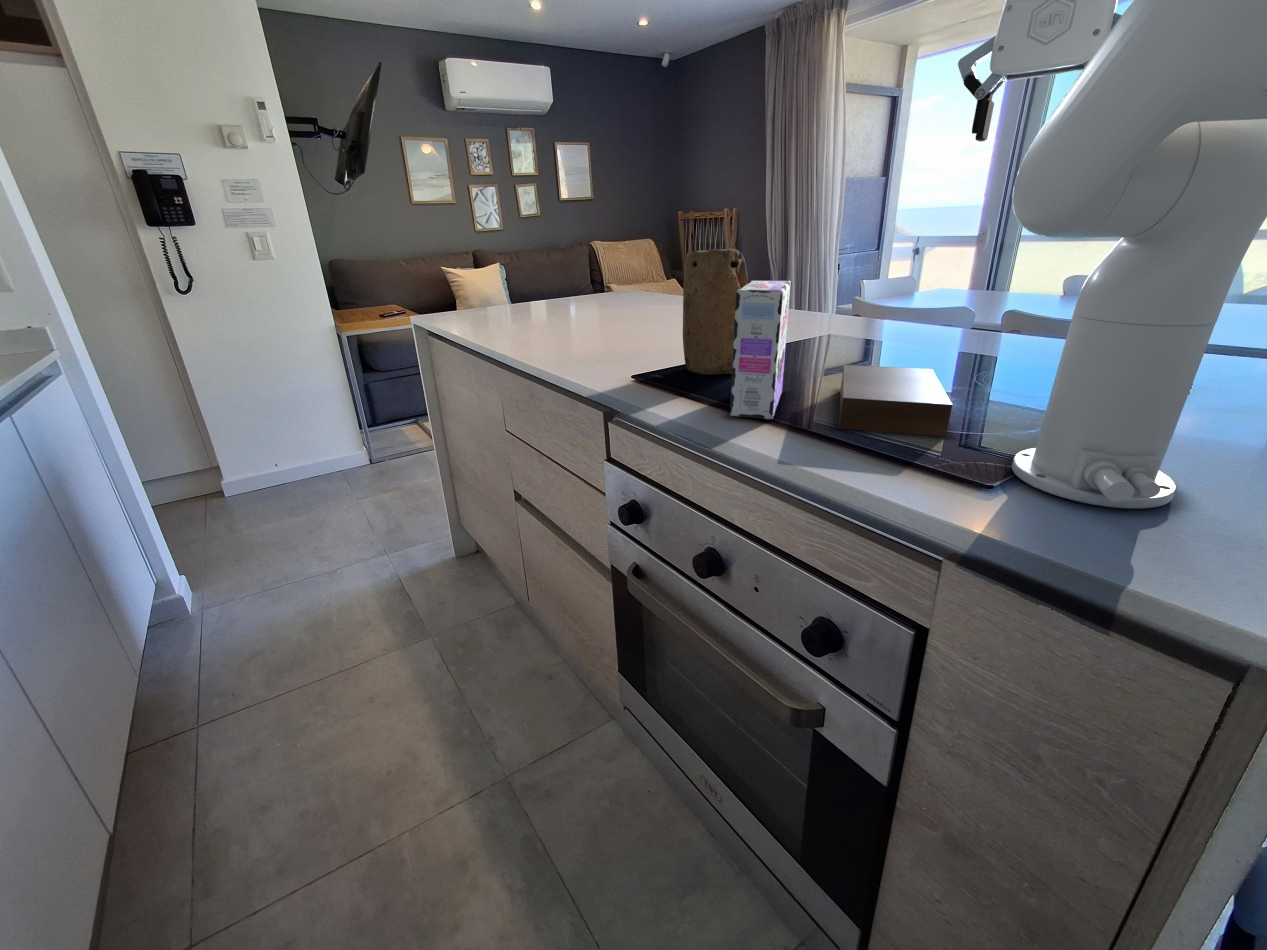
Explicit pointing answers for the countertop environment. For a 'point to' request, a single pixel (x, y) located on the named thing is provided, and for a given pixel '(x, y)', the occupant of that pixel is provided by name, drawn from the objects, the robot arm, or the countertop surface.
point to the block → (711, 309)
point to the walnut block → (893, 400)
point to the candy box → (759, 348)
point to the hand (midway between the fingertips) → (1029, 136)
